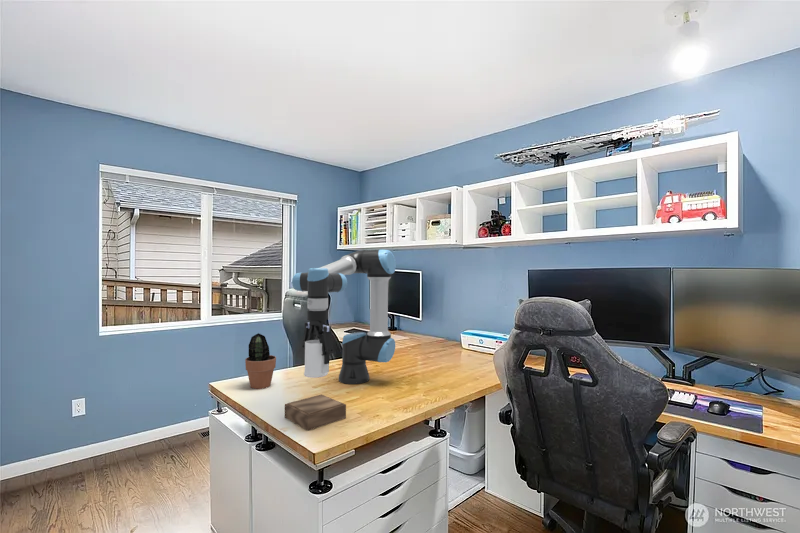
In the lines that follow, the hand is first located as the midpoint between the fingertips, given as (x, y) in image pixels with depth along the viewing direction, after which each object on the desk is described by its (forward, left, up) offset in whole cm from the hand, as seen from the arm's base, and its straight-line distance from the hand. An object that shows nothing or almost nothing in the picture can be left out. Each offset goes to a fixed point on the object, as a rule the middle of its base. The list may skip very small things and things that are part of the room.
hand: (317, 369), depth 142 cm
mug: (0, 0, -1) cm, 1 cm away
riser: (0, 0, -18) cm, 18 cm away
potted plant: (-51, +3, -18) cm, 54 cm away
